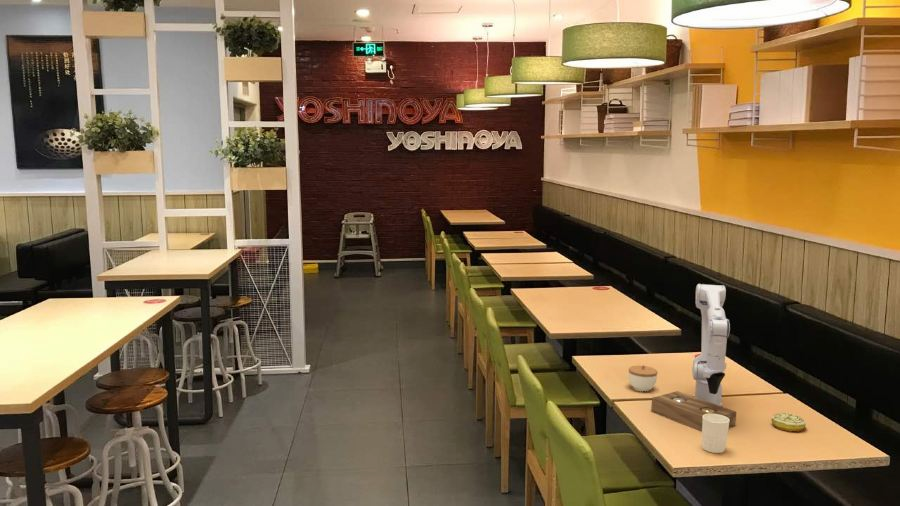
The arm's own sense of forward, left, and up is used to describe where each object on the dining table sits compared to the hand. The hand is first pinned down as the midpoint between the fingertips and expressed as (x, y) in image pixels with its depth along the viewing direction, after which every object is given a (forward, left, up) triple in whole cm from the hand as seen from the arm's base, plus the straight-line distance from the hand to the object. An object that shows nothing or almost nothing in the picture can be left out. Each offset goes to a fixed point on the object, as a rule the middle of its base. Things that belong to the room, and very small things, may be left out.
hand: (713, 393), depth 249 cm
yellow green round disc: (-19, +17, -11) cm, 27 cm away
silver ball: (+3, -11, -10) cm, 16 cm away
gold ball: (+3, +1, -10) cm, 11 cm away
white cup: (+19, +15, -10) cm, 26 cm away
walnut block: (+3, -5, -10) cm, 12 cm away
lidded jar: (-6, -35, -10) cm, 37 cm away
